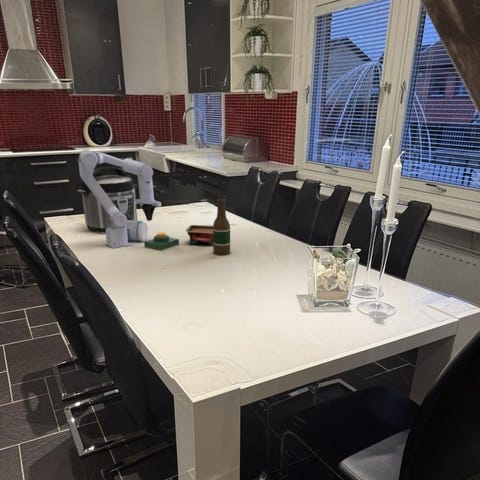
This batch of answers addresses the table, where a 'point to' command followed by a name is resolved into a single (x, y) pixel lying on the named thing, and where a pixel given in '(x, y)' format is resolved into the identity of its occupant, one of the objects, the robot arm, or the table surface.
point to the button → (161, 235)
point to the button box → (161, 243)
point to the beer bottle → (221, 230)
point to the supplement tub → (137, 230)
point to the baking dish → (200, 233)
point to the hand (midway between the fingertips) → (149, 220)
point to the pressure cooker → (117, 191)
